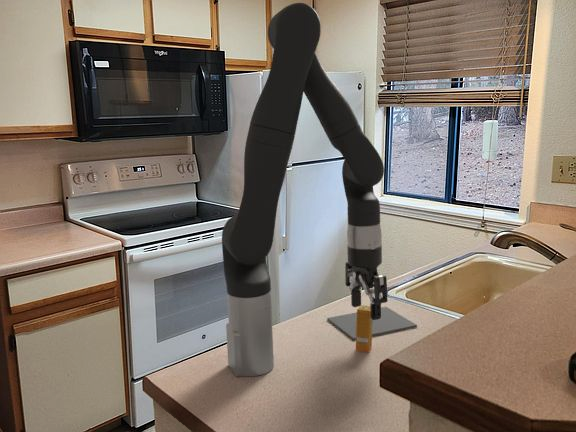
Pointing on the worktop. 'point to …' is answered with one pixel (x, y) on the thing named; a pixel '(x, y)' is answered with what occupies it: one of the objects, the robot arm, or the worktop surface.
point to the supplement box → (364, 329)
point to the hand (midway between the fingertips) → (365, 312)
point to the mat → (373, 323)
